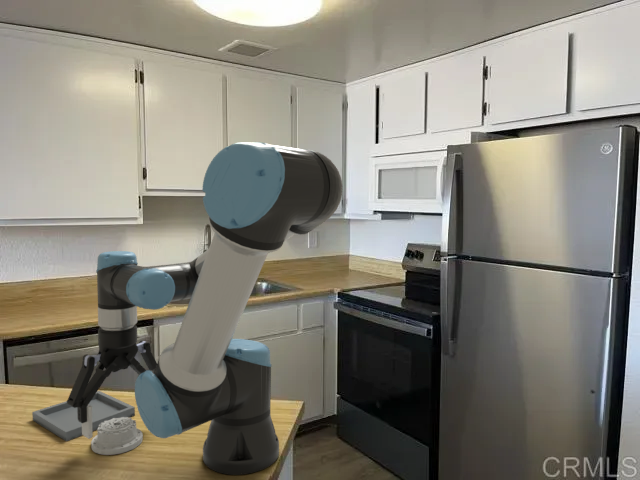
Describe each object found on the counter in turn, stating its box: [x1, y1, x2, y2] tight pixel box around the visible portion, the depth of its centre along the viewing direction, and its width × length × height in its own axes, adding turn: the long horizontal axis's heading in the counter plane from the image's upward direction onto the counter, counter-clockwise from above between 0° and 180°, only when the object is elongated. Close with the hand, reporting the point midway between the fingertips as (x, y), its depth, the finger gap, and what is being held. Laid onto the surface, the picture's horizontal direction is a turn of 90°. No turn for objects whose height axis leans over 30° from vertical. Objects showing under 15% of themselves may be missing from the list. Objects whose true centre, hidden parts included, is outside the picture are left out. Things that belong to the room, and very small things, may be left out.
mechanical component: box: [90, 417, 144, 456], centre depth 102 cm, size 10×4×10 cm
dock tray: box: [32, 390, 136, 442], centre depth 113 cm, size 16×16×2 cm
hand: (118, 424), depth 102 cm, fingers open, 13 cm apart
